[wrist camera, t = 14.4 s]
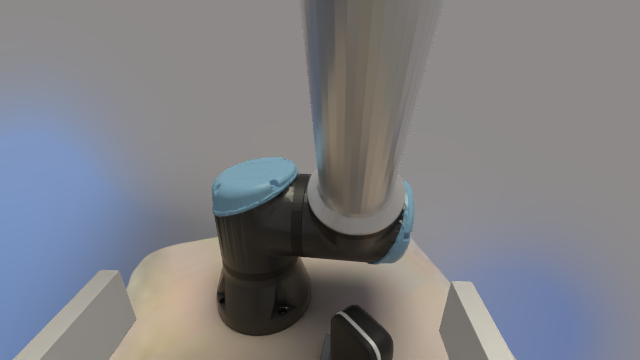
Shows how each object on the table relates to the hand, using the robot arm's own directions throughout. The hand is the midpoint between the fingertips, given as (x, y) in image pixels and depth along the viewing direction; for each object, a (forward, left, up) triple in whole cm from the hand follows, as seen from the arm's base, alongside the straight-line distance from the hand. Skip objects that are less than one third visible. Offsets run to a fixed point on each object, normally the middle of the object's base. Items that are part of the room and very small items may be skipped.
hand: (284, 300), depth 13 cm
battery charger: (-15, +3, -29) cm, 33 cm away
